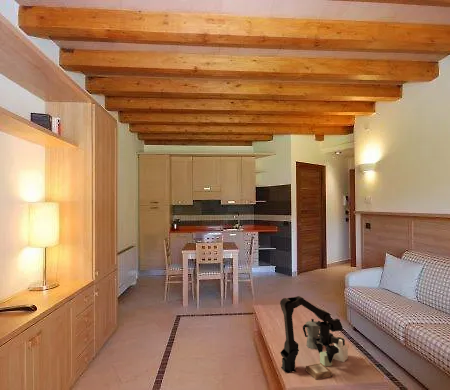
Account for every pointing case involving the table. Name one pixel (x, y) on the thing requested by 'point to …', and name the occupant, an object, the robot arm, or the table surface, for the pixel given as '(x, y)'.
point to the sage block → (324, 359)
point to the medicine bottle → (341, 350)
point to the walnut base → (318, 371)
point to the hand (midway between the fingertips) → (325, 359)
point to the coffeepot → (311, 332)
